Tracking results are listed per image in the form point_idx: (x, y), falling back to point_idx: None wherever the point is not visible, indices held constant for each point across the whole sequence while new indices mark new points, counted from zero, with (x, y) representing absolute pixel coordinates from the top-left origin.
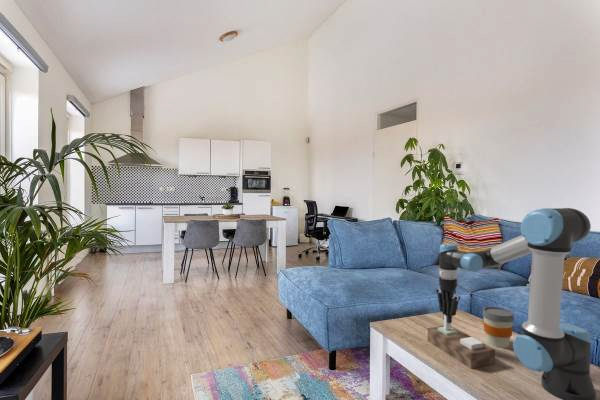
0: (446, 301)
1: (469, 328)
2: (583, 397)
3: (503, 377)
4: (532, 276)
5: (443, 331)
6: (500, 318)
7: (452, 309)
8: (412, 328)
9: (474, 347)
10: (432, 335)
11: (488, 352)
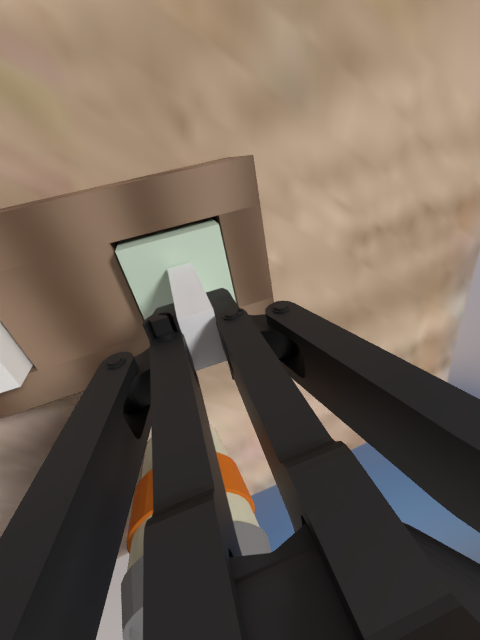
0: (272, 457)
1: (312, 402)
2: None
3: None
4: None
5: (153, 241)
6: (126, 600)
7: (56, 442)
8: (388, 148)
9: None
10: (192, 167)
11: None
